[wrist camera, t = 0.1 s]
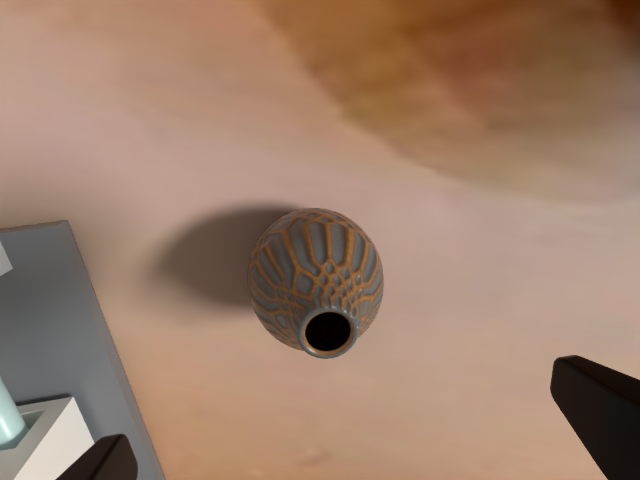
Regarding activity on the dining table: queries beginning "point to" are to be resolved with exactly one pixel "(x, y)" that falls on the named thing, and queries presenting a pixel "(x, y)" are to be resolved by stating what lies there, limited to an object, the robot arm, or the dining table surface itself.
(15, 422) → the linear slide rail
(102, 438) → the robot arm
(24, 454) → the white square tube
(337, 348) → the vase
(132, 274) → the dining table surface
